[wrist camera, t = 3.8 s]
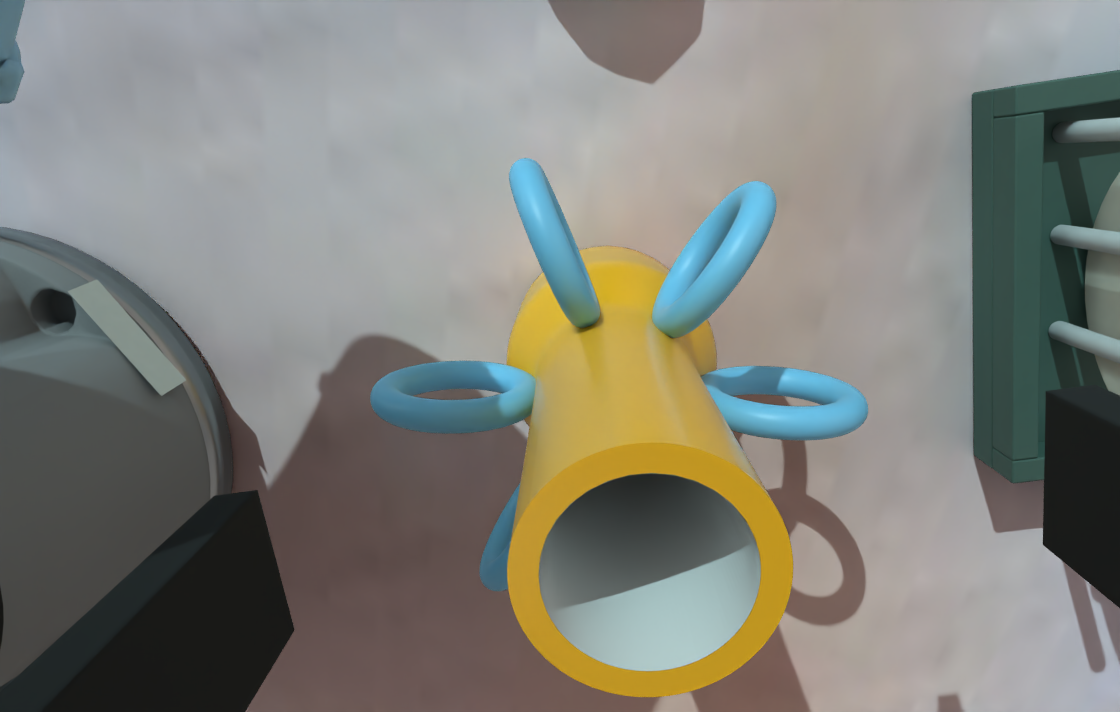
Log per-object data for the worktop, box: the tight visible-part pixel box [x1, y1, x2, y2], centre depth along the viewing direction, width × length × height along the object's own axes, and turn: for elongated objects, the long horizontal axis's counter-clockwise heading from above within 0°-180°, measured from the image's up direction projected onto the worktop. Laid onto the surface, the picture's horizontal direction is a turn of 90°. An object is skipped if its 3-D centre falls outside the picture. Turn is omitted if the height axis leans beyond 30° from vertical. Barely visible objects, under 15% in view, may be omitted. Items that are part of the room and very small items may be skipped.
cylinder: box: [370, 158, 868, 697], centre depth 18 cm, size 12×10×15 cm
